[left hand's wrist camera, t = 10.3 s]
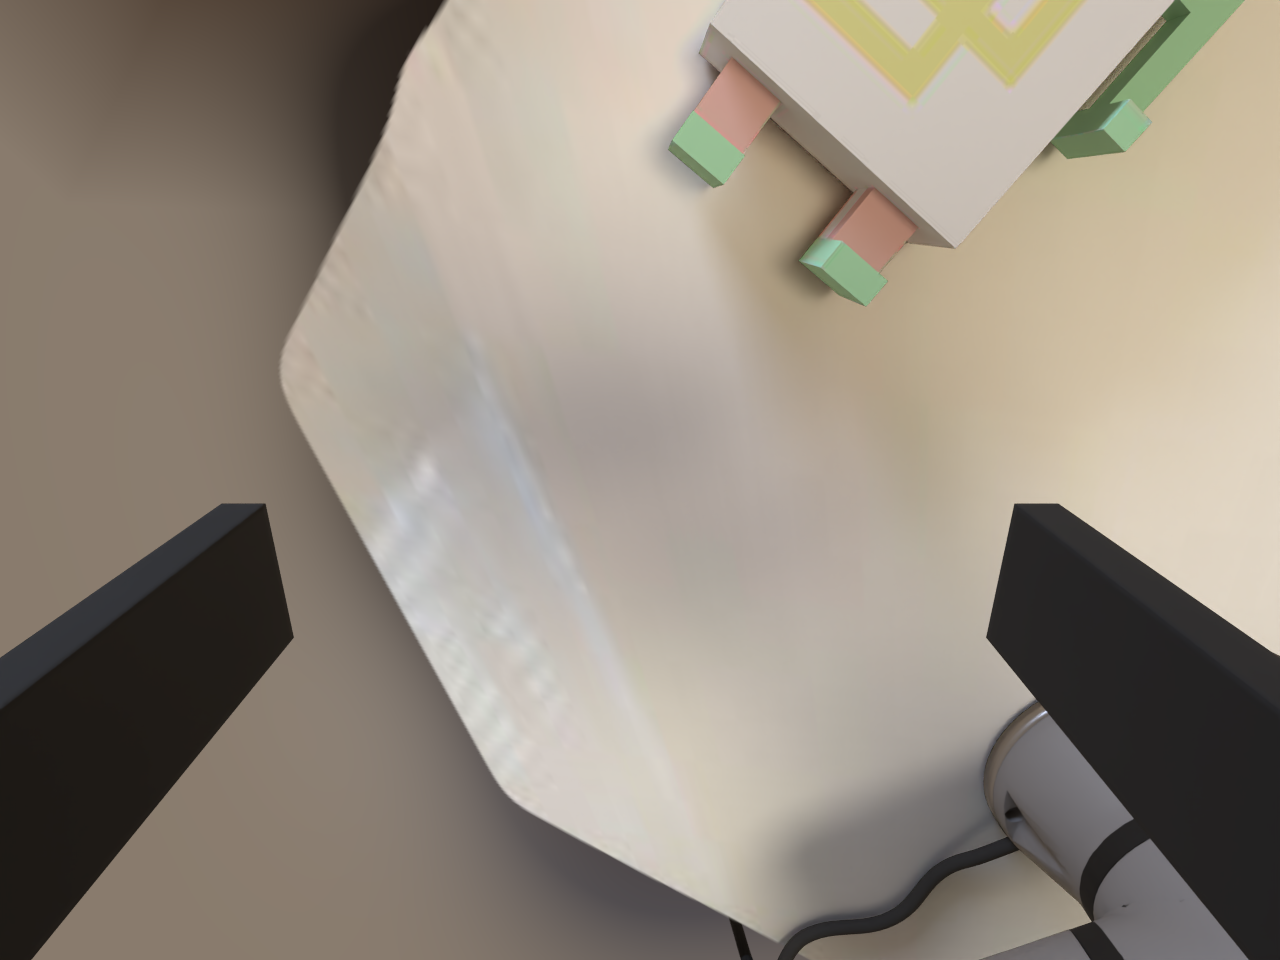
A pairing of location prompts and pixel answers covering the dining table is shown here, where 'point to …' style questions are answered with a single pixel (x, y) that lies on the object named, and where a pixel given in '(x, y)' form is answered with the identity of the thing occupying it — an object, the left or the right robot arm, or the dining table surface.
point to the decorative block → (930, 103)
